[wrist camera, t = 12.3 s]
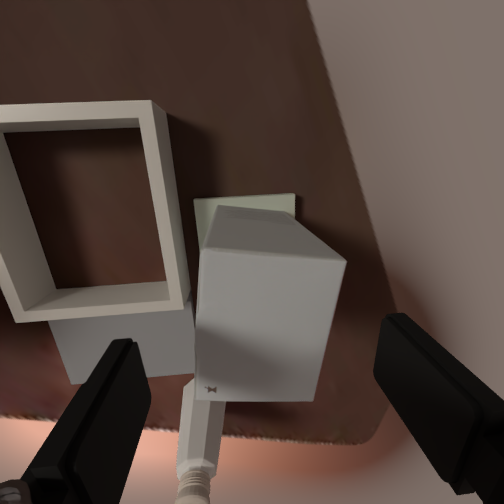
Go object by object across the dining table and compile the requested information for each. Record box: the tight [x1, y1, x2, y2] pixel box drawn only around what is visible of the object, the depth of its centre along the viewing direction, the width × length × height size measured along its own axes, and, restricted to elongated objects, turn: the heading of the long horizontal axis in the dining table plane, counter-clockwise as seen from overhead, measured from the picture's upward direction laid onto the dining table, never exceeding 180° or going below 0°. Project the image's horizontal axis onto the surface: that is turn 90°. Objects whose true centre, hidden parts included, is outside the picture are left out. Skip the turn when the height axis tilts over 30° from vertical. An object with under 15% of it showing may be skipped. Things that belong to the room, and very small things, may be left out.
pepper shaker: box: [175, 379, 226, 504], centre depth 25 cm, size 5×5×11 cm
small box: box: [194, 205, 347, 402], centre depth 17 cm, size 8×6×13 cm
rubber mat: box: [194, 193, 295, 251], centre depth 24 cm, size 10×9×1 cm
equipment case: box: [0, 100, 196, 385], centre depth 22 cm, size 26×14×4 cm, turn 3°
